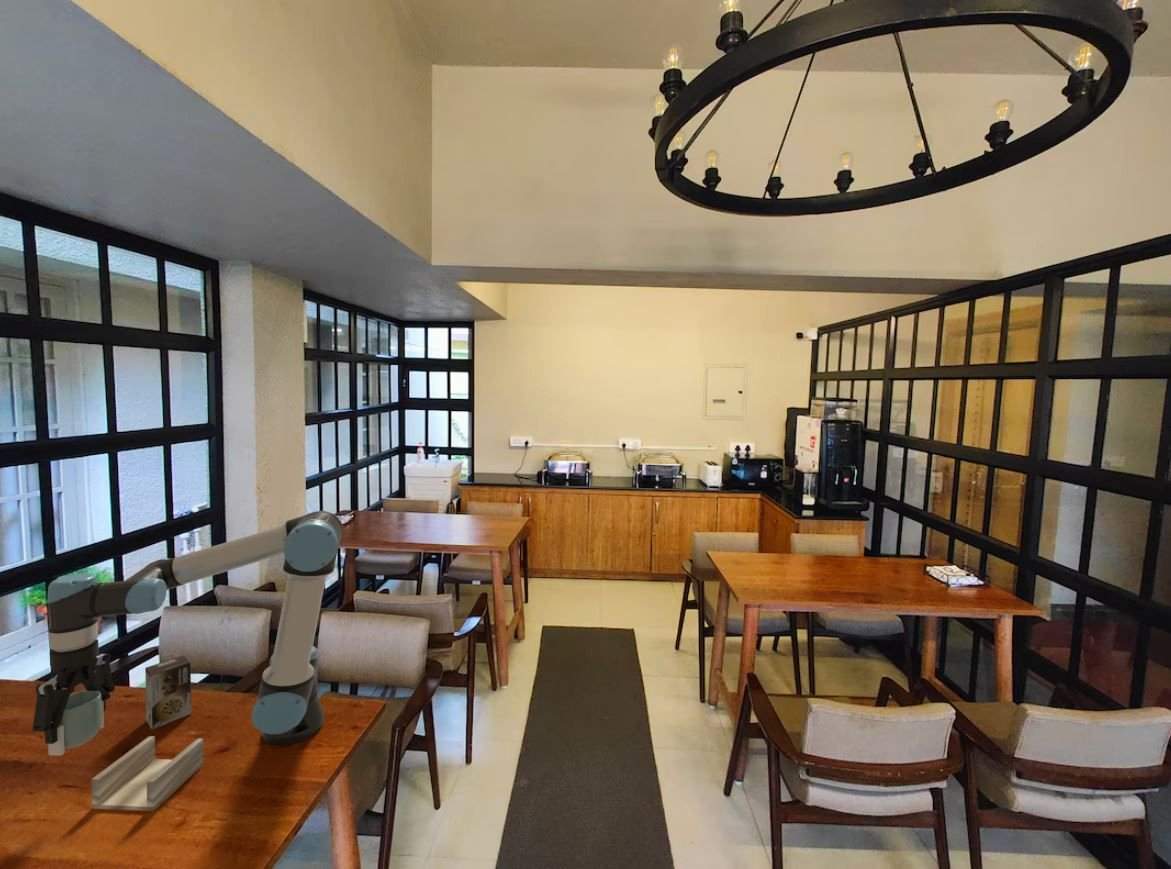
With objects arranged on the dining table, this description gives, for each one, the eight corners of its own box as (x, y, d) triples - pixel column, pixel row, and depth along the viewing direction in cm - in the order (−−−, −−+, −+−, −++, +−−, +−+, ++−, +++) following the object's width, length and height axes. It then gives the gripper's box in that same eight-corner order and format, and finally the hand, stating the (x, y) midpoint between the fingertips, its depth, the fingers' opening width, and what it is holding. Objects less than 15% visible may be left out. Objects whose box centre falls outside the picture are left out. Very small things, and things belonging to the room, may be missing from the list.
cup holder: (203, 764, 121) (203, 738, 121) (153, 811, 107) (153, 781, 107) (149, 762, 121) (148, 736, 121) (92, 808, 107) (91, 779, 107)
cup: (69, 757, 103) (67, 713, 103) (42, 750, 105) (40, 707, 104) (111, 733, 111) (109, 692, 110) (86, 727, 112) (84, 687, 112)
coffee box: (185, 705, 144) (185, 654, 143) (192, 714, 140) (191, 661, 139) (145, 720, 136) (144, 666, 135) (151, 730, 133) (150, 675, 132)
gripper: (104, 622, 117) (107, 710, 118) (1, 668, 96) (5, 775, 98) (134, 623, 117) (136, 711, 118) (37, 670, 96) (41, 776, 98)
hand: (77, 740), depth 108 cm, fingers closed on cup, 8 cm apart
